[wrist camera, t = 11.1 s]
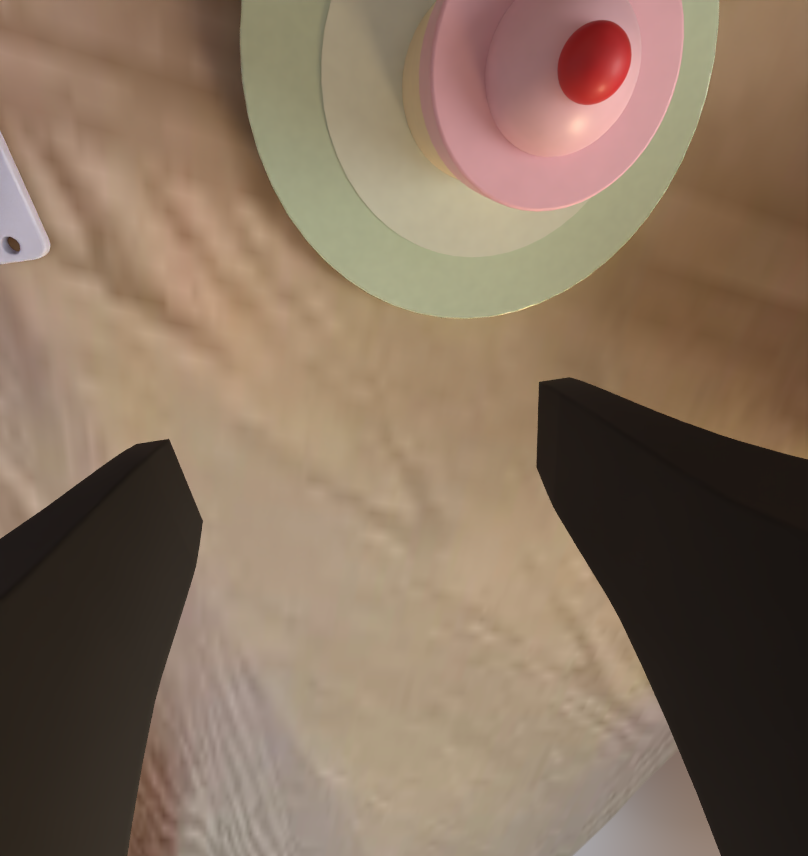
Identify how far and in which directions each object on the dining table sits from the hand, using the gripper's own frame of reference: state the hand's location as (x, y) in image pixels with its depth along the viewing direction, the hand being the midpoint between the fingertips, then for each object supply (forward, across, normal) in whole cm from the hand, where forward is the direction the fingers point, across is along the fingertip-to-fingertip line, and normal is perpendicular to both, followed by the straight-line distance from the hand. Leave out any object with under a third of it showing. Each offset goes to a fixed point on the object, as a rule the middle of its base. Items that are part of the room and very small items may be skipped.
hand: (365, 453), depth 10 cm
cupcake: (+9, -5, -6) cm, 12 cm away
